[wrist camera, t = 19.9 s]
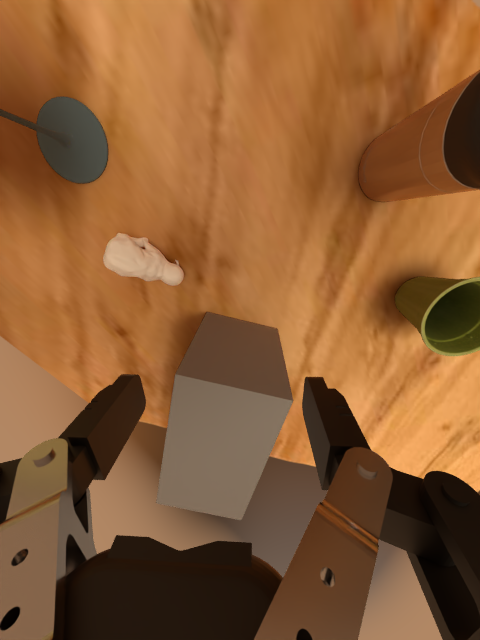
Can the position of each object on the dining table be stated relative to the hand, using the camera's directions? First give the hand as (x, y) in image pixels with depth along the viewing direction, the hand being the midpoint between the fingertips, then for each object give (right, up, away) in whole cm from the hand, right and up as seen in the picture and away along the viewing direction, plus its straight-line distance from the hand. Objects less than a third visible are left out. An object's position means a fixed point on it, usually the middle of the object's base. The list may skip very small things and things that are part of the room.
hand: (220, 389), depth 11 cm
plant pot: (+33, +8, +31) cm, 46 cm away
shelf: (-1, -9, +40) cm, 41 cm away
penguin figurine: (-14, +14, +31) cm, 37 cm away
